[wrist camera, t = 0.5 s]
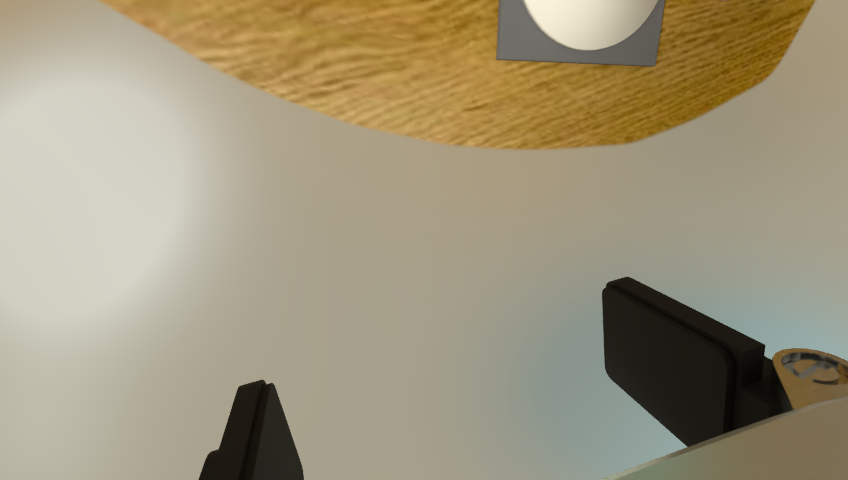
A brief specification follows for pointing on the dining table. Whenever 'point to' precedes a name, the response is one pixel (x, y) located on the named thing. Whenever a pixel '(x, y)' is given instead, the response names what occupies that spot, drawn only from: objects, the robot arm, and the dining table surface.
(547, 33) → the lid
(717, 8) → the dining table surface
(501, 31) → the mat
